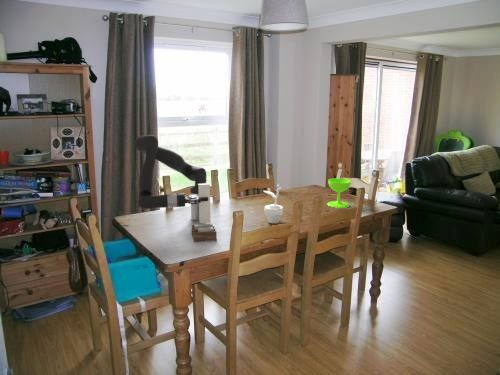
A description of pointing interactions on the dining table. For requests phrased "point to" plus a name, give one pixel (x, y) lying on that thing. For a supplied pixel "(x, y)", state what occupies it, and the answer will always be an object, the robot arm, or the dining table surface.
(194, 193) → the robot arm
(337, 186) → the wineglass
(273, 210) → the potted plant
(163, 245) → the dining table surface
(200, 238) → the offcut rack
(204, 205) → the tall board
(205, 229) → the offcut stack
